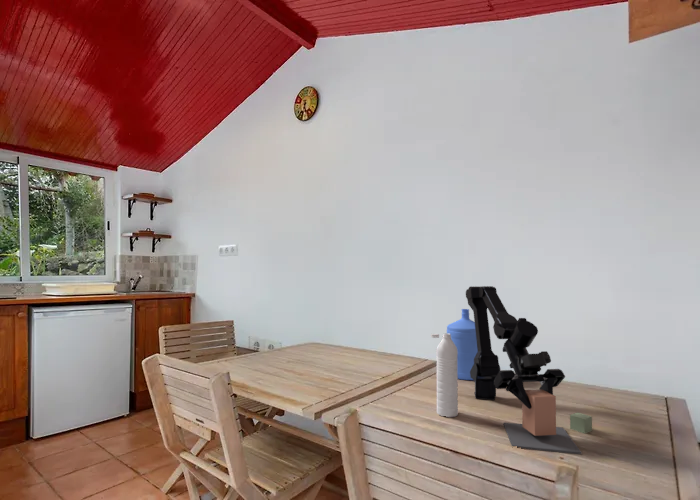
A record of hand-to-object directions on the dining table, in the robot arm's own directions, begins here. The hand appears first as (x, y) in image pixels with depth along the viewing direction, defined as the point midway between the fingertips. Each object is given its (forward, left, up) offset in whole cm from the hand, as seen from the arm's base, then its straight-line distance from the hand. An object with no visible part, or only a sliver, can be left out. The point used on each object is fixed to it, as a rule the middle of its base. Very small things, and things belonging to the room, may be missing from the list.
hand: (541, 407), depth 109 cm
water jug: (-16, +62, -9) cm, 65 cm away
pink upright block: (0, +1, -7) cm, 7 cm away
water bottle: (-25, +13, -9) cm, 30 cm away
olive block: (+13, +10, -9) cm, 18 cm away
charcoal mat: (0, +1, -8) cm, 9 cm away
